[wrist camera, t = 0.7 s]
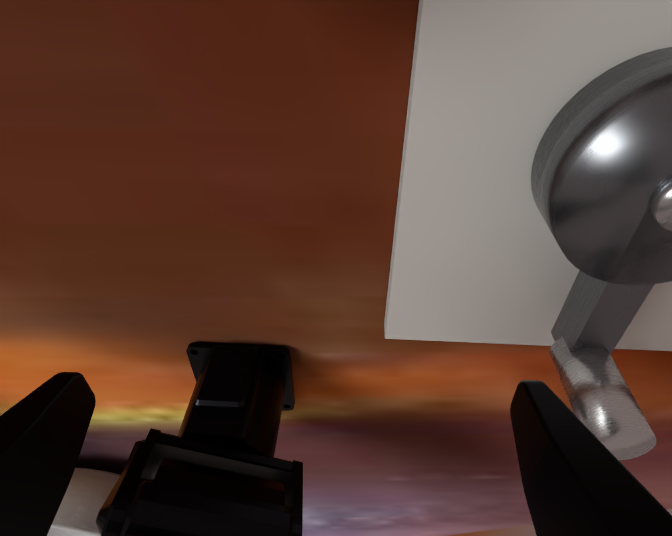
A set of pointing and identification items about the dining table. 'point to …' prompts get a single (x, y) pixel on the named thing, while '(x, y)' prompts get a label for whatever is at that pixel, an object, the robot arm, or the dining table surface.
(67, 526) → the serving bowl
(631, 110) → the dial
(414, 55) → the stand board
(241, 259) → the dining table surface
